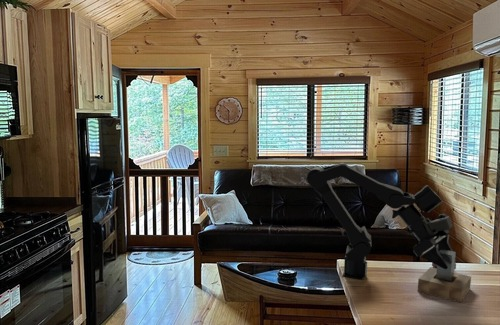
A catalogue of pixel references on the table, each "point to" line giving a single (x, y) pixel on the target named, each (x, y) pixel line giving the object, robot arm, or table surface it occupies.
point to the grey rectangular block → (450, 261)
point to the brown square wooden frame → (444, 285)
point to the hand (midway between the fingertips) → (450, 264)
